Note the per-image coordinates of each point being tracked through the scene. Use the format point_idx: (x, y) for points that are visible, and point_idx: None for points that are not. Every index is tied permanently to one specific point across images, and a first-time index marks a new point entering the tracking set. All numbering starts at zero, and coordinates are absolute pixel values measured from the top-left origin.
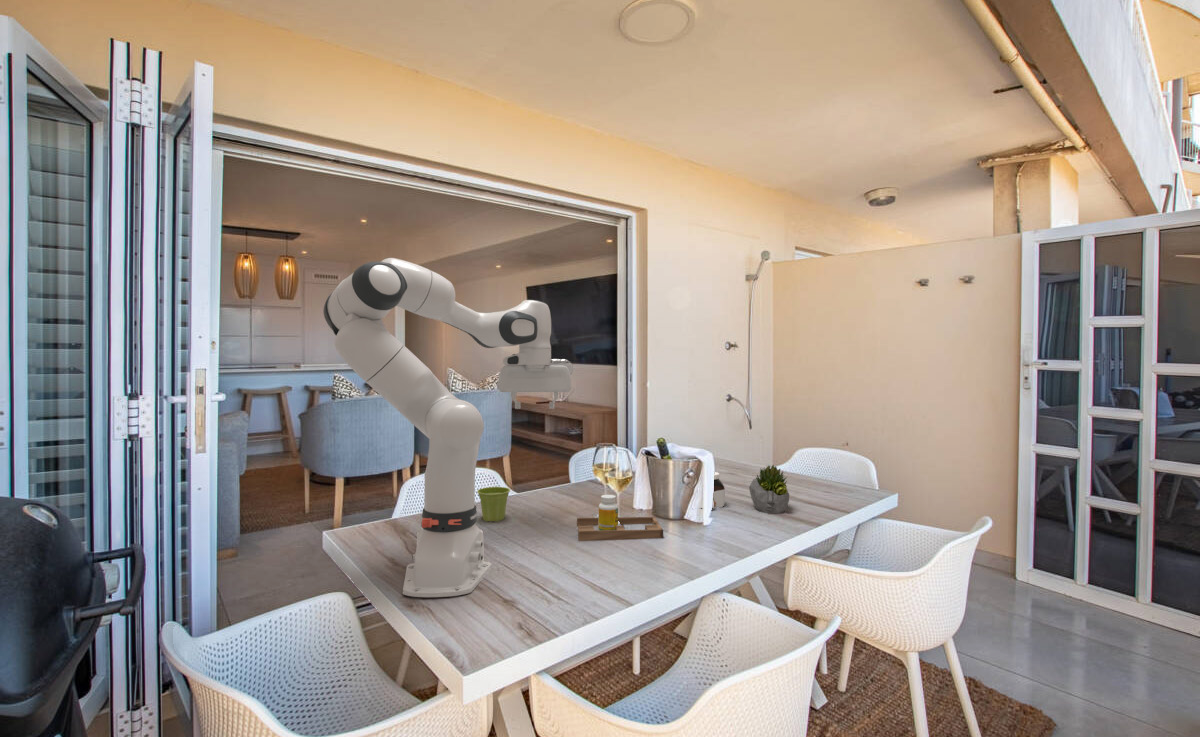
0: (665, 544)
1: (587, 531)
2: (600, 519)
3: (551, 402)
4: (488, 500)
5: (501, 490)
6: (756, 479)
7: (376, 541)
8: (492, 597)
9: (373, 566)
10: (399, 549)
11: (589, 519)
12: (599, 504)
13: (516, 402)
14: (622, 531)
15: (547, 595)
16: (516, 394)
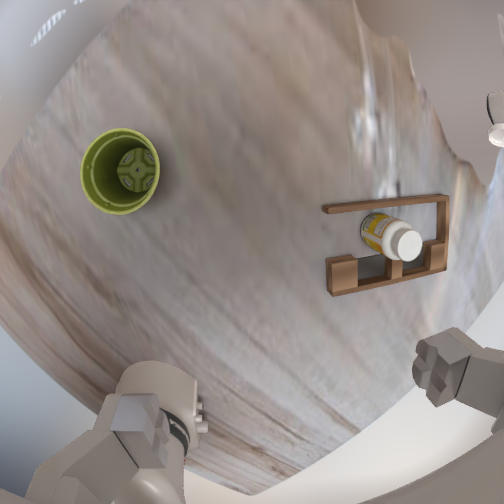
0: (435, 284)
1: (346, 293)
2: (373, 247)
3: (450, 399)
4: (120, 205)
5: (131, 134)
6: None
7: (25, 313)
8: (240, 446)
9: (81, 393)
10: (68, 344)
11: (351, 210)
12: (385, 241)
13: (131, 466)
14: (397, 282)
15: (290, 437)
16: (83, 497)
